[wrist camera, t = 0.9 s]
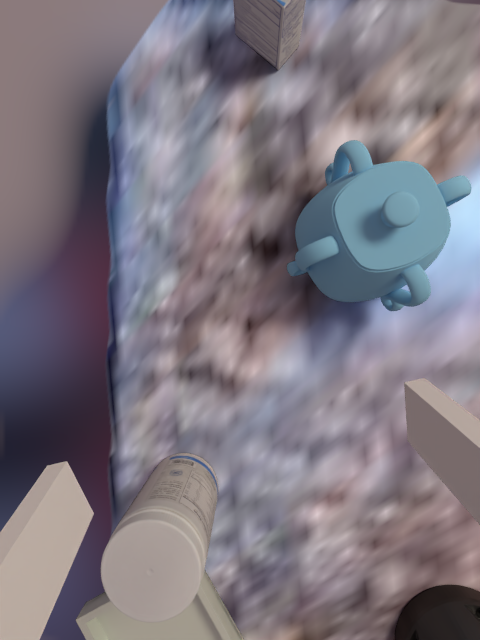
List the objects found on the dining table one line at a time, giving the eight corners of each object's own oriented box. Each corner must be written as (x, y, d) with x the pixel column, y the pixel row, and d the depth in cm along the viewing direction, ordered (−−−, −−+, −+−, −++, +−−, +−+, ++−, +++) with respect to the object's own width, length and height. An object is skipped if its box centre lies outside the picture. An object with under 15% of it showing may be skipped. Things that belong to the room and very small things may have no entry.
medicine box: (299, 47, 41) (311, -26, 32) (277, 72, 41) (284, 7, 33) (256, 11, 41) (256, -71, 33) (234, 36, 42) (229, -39, 33)
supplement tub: (178, 533, 42) (137, 648, 27) (137, 477, 42) (75, 561, 27) (234, 491, 41) (224, 586, 27) (192, 435, 42) (159, 498, 27)
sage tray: (252, 655, 41) (252, 676, 39) (145, 711, 42) (139, 736, 39) (190, 544, 42) (186, 559, 39) (85, 602, 42) (75, 619, 40)
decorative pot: (327, 164, 41) (363, 87, 27) (435, 217, 40) (527, 165, 27) (271, 271, 41) (279, 247, 28) (378, 326, 41) (440, 328, 27)
